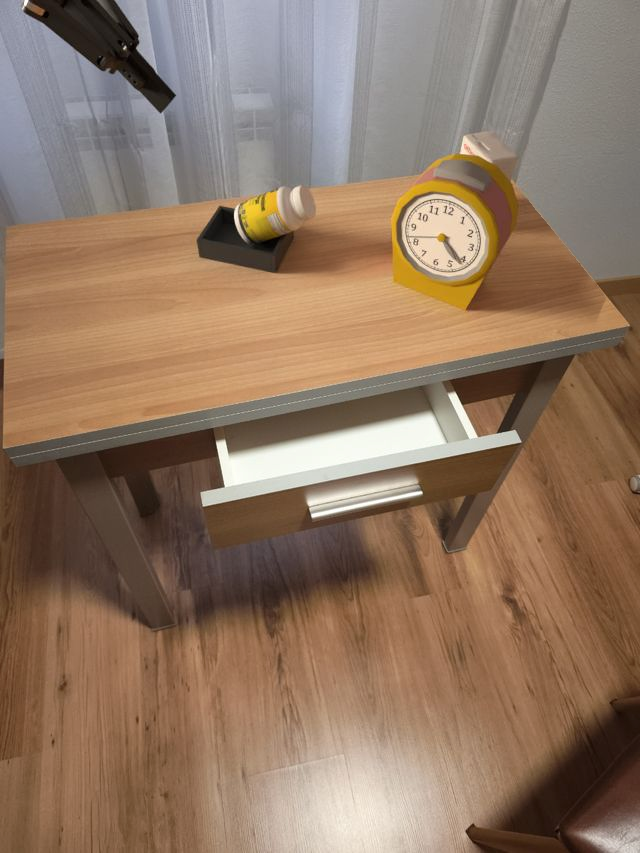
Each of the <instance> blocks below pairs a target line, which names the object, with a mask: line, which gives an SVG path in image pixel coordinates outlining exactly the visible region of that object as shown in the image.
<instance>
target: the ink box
mask: <svg viewBox="0 0 640 853" xmlns="http://www.w3.org/2000/svg"><path fill="white" fill-rule="evenodd" d="M459 154H466V155H476V156H479V157H481V158H483V159H485V160H487V161H489V162H490V163H492V164H494V165H496V166H498V167H499V169H500V170H501V171H502V172H503V173H504V175H505V176H506V177H507V178H508V180H509V181H510V182H511V183H512V178H513V175H514V173H515V168H516V165H517V161H518V160H519V159H518V158H519V156H518V155H517V154H516V153H515V152H514V151H513V150H511V149H510V148H509V146H507V145H506V144H505V143H504V142H503V141H502V140H501V139H499V137H497V136H496V135H495V134H494V133H493V132H492V131H491V130H486V131H480V132H474V133H468V134H465V135H464V136H463V138H462V142H461V147H460V152H459Z"/></svg>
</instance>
